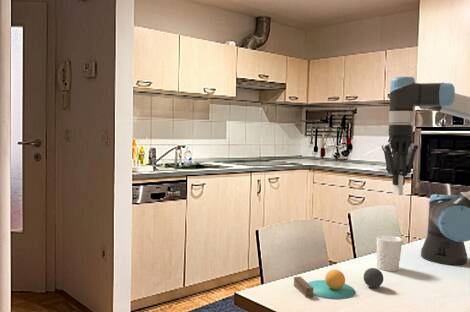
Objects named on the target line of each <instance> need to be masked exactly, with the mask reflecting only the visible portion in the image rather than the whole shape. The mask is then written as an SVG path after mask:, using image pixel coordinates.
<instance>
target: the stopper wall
mask: <svg viewBox="0 0 470 312" xmlns="http://www.w3.org/2000/svg"><path fill="white" fill-rule="evenodd" d="M293 287H295V288H296V289H297V290H298V291H299V292H300V293H301V294H302V295H303V296H304V297H305V298H313V297H314V295H313V287H312V286H311V285H310V284H308V282H307V280H305V279H304V278H303V277H302V276H294V277H293Z"/></svg>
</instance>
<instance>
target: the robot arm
mask: <svg viewBox="0 0 470 312" xmlns="http://www.w3.org/2000/svg"><path fill="white" fill-rule="evenodd" d="M455 90H456V89H455V86H454V84H453V83H449V82H425V83H418V82H416V81H415V78H414V77H413V76H397V77H393V78H392V79H391V80H390V88H389V115H388V116H389V117H388V123H389V125H388V137H389V138H388V140H387V143H386V144H382V145H381V149H382V151H383V153H384V155H383V156H384V159H385V165H386V172H387V173H388V174H390V175H392V185H393V195H394V196H395V195H396V196H399V197H400V196H403V195H404V186H405V183H406V177H407V176H408V174H409V175H410V174H411V172H412V168H413V164H414V161H415V160H414V159H415V157H416V152H417V150H418V149H419V145H416V144H415V143H413V139H412V137H413V132H414V130H413V129H414V126H413V125H412V124H414V107H419V108H420V109H422V110H423V109H424V110H426V109H427V110H430V111H434V112H440V113H444V114H447V115H450V116H454V117H458V118H461V119H465V120H469V121H470V96H467V95H463V94H459V93H456V91H455ZM429 196H430V197H429V201H428V204H429V205H428V219H427V233H426V237H425V240H424V243H423V245H422V247H421V250H420V257H421V258H422V259H424V260H427V261H429V262H433V263H438V264H443V265H444V264H445V265H454V266H456V265H464V264H467V263H468V253H467V249H466V245H465V242H468V241H470V190H469V191H467V192H466V191H464V192H463V191H461V192H459V193H458V194H457V195H452V194H451V195H448V194H437V193H435V194H431V195H429Z"/></svg>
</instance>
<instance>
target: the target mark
mask: <svg viewBox="0 0 470 312" xmlns="http://www.w3.org/2000/svg"><path fill="white" fill-rule="evenodd" d="M307 283H308V284H310V285H311V286H312V287H313V296H315V297H319V298H324V299H330V300H343V299H349V298H351V297H352V298H353V296H355V294H356V290H355V288H354V287H352V286H351V285H349V284H346V283H345V284H344V286H343V287H342V288H340V289H338V290H334V289H331V288H329V287H328V286H327V284H326V281H325V279H319V280H312V281H308V282H307Z"/></svg>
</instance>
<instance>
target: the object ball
mask: <svg viewBox="0 0 470 312" xmlns="http://www.w3.org/2000/svg"><path fill="white" fill-rule="evenodd" d="M324 278H325V279H324V280H325V281H326V284H327V286H328V287H329V288H331V289H334V290H338V289H340V288H342V287H343V286H344V284H346V277H345V274H344V272H342V271H341V270H338V269H330V270H329V271H328V272H327V273H326V274H325V277H324Z"/></svg>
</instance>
